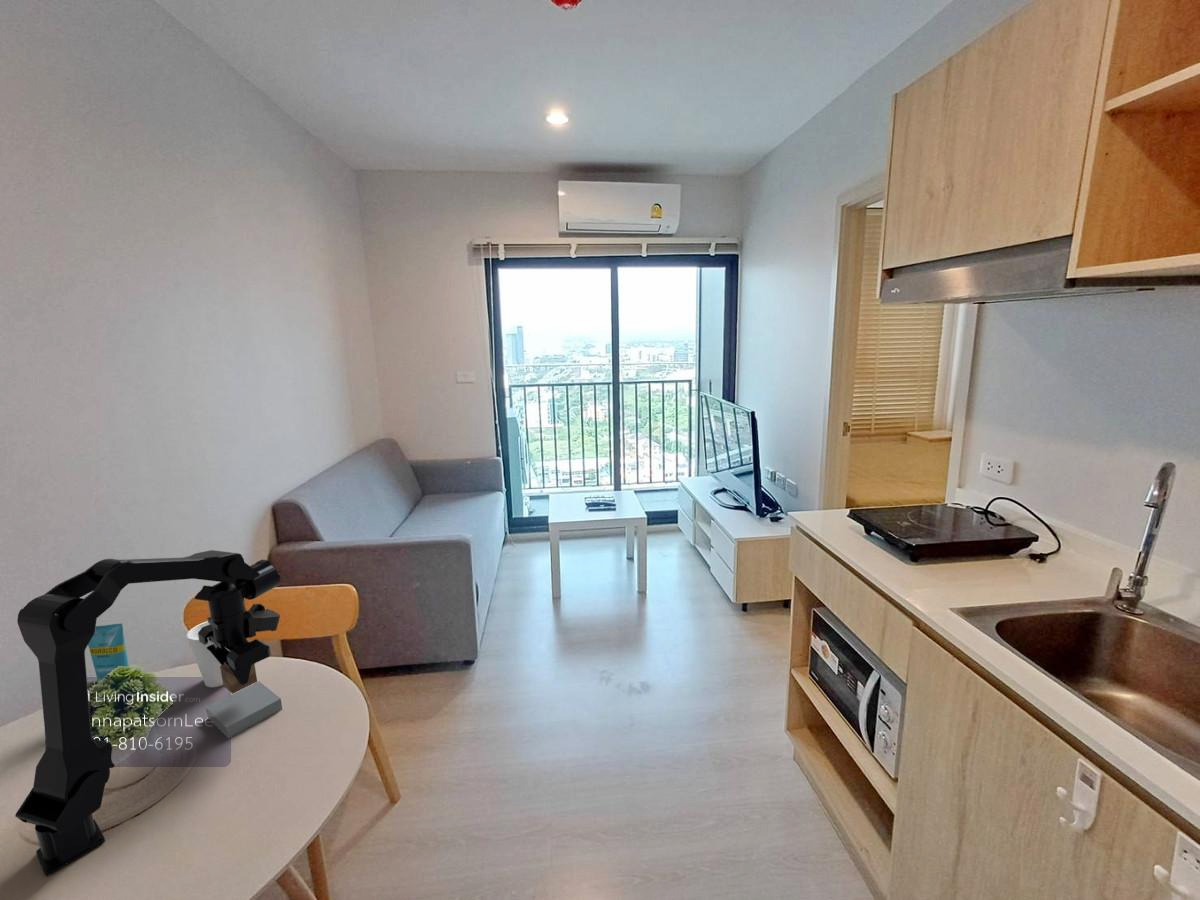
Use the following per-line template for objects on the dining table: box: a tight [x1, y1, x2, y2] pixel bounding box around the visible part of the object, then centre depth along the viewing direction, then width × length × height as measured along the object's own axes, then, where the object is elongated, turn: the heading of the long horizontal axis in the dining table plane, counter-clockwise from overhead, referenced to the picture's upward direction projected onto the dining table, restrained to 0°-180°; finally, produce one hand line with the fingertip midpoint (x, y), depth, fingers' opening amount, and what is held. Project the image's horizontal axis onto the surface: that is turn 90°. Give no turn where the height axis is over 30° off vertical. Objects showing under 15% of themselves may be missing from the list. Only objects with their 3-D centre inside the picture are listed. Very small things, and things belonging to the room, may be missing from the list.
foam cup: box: [186, 620, 223, 688], centre depth 116 cm, size 10×9×13 cm
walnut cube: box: [220, 663, 258, 695], centre depth 104 cm, size 4×4×4 cm
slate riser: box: [205, 681, 283, 739], centre depth 106 cm, size 10×10×2 cm
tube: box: [87, 622, 130, 682], centre depth 107 cm, size 7×5×19 cm, turn 103°
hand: (239, 679), depth 105 cm, fingers closed on walnut cube, 4 cm apart
